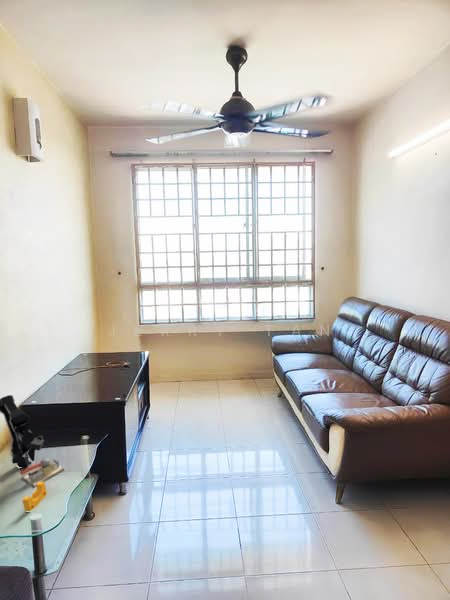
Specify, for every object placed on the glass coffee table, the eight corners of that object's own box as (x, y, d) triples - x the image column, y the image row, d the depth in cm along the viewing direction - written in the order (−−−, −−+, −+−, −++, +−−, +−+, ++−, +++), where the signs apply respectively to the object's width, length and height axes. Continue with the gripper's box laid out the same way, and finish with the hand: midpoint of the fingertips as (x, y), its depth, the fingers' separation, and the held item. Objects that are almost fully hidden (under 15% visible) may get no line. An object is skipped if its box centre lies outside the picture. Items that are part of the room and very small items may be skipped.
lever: (21, 476, 186) (20, 472, 186) (20, 473, 189) (19, 469, 189) (50, 463, 194) (49, 459, 194) (49, 460, 197) (48, 457, 197)
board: (22, 477, 196) (21, 475, 195) (50, 462, 207) (50, 460, 206) (34, 486, 185) (34, 485, 185) (64, 470, 196) (63, 468, 196)
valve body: (28, 480, 191) (26, 472, 190) (55, 465, 201) (53, 457, 200) (33, 483, 187) (31, 475, 186) (60, 468, 197) (58, 460, 196)
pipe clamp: (38, 494, 178) (35, 482, 177) (47, 494, 177) (44, 481, 177) (22, 513, 166) (18, 500, 166) (30, 512, 166) (27, 499, 165)
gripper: (31, 444, 183) (38, 473, 186) (46, 425, 202) (52, 452, 204) (8, 448, 183) (15, 477, 185) (25, 429, 201) (31, 455, 204)
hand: (30, 465), depth 195 cm, fingers open, 7 cm apart
